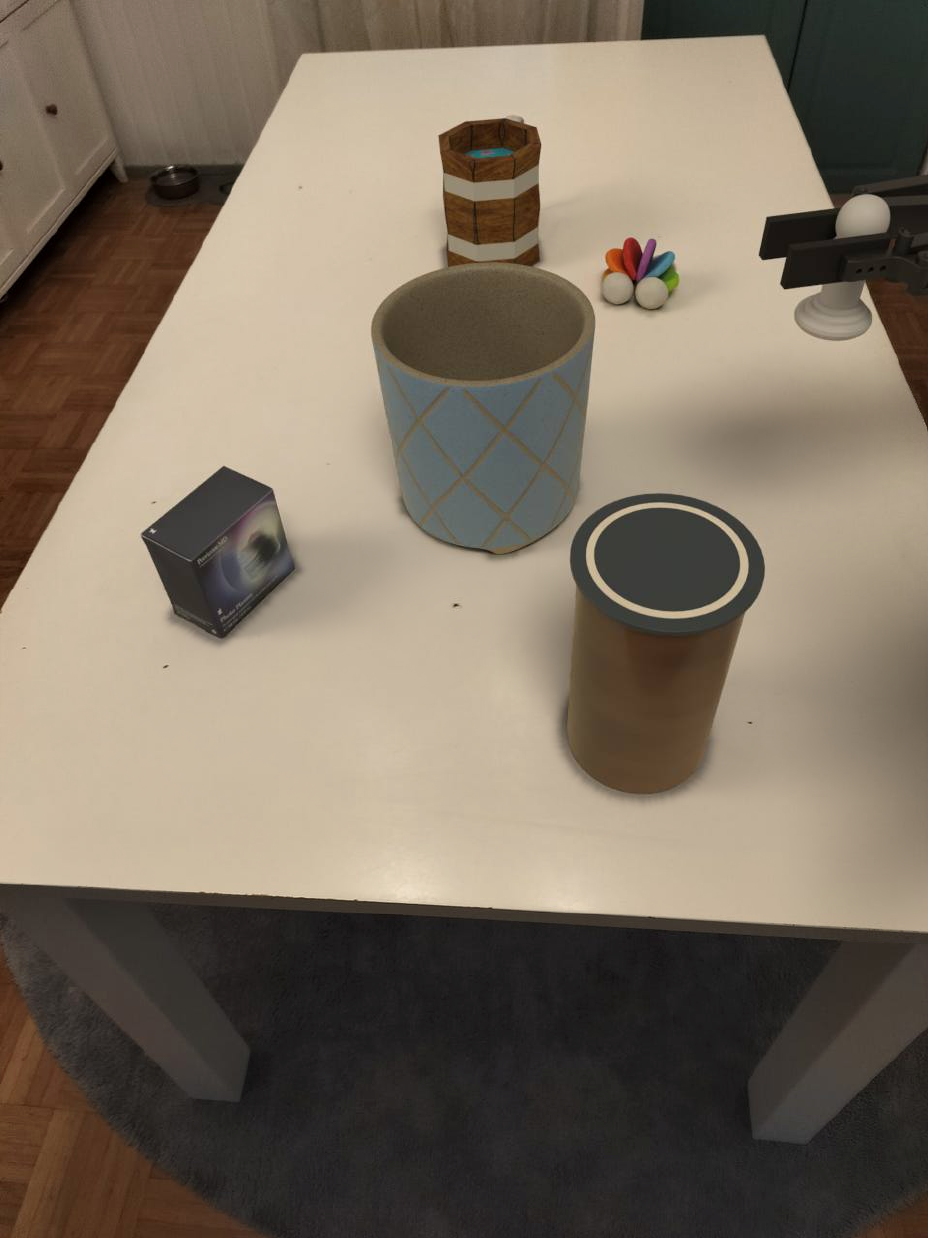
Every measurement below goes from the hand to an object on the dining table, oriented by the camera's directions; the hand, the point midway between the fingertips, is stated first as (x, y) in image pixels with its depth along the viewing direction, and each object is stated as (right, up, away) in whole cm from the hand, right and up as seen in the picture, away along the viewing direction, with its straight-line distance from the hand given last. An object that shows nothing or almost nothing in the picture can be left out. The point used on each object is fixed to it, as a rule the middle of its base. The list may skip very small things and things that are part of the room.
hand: (776, 252), depth 59 cm
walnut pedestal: (-7, -34, +12) cm, 36 cm away
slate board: (-8, -21, -3) cm, 23 cm away
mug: (-16, +28, +64) cm, 72 cm away
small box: (-42, -22, +25) cm, 54 cm away
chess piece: (+6, -3, +5) cm, 8 cm away
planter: (-18, -12, +31) cm, 38 cm away
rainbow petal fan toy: (+1, +17, +54) cm, 57 cm away
